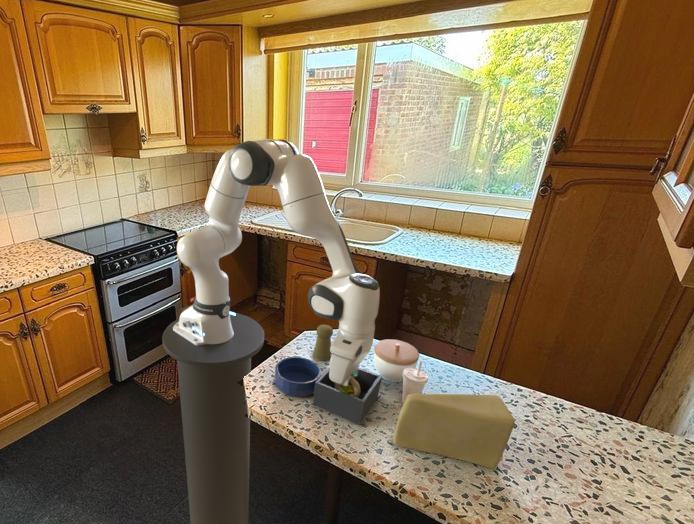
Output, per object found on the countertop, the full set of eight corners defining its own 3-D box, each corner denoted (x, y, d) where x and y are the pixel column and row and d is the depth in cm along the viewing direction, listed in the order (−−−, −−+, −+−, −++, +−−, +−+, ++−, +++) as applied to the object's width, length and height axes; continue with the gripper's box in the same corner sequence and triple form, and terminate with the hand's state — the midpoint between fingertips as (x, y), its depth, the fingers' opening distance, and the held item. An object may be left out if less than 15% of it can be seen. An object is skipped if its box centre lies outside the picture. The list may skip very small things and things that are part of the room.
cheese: (396, 458, 94) (408, 409, 87) (389, 429, 102) (400, 381, 96) (498, 472, 90) (518, 421, 84) (482, 440, 99) (500, 392, 92)
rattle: (370, 398, 111) (376, 361, 107) (351, 407, 106) (356, 368, 103) (349, 387, 117) (354, 351, 113) (330, 395, 112) (334, 358, 108)
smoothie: (417, 413, 107) (428, 371, 101) (393, 403, 111) (402, 362, 105) (424, 401, 112) (434, 359, 106) (400, 392, 115) (410, 351, 109)
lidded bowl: (420, 375, 123) (428, 345, 118) (400, 393, 115) (407, 361, 110) (383, 358, 131) (389, 329, 126) (362, 374, 123) (367, 343, 118)
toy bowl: (266, 386, 118) (267, 372, 116) (288, 365, 127) (289, 352, 125) (306, 403, 111) (307, 389, 109) (326, 380, 120) (328, 366, 118)
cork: (311, 358, 131) (314, 329, 126) (314, 349, 136) (317, 321, 131) (330, 362, 129) (333, 332, 124) (332, 352, 134) (335, 323, 129)
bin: (312, 404, 111) (315, 382, 107) (333, 380, 120) (336, 359, 117) (359, 425, 103) (364, 402, 100) (377, 397, 113) (382, 376, 110)
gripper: (358, 317, 112) (352, 358, 118) (327, 349, 97) (321, 394, 103) (381, 324, 108) (373, 366, 114) (351, 358, 93) (344, 404, 100)
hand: (348, 379), depth 109 cm, fingers open, 3 cm apart
